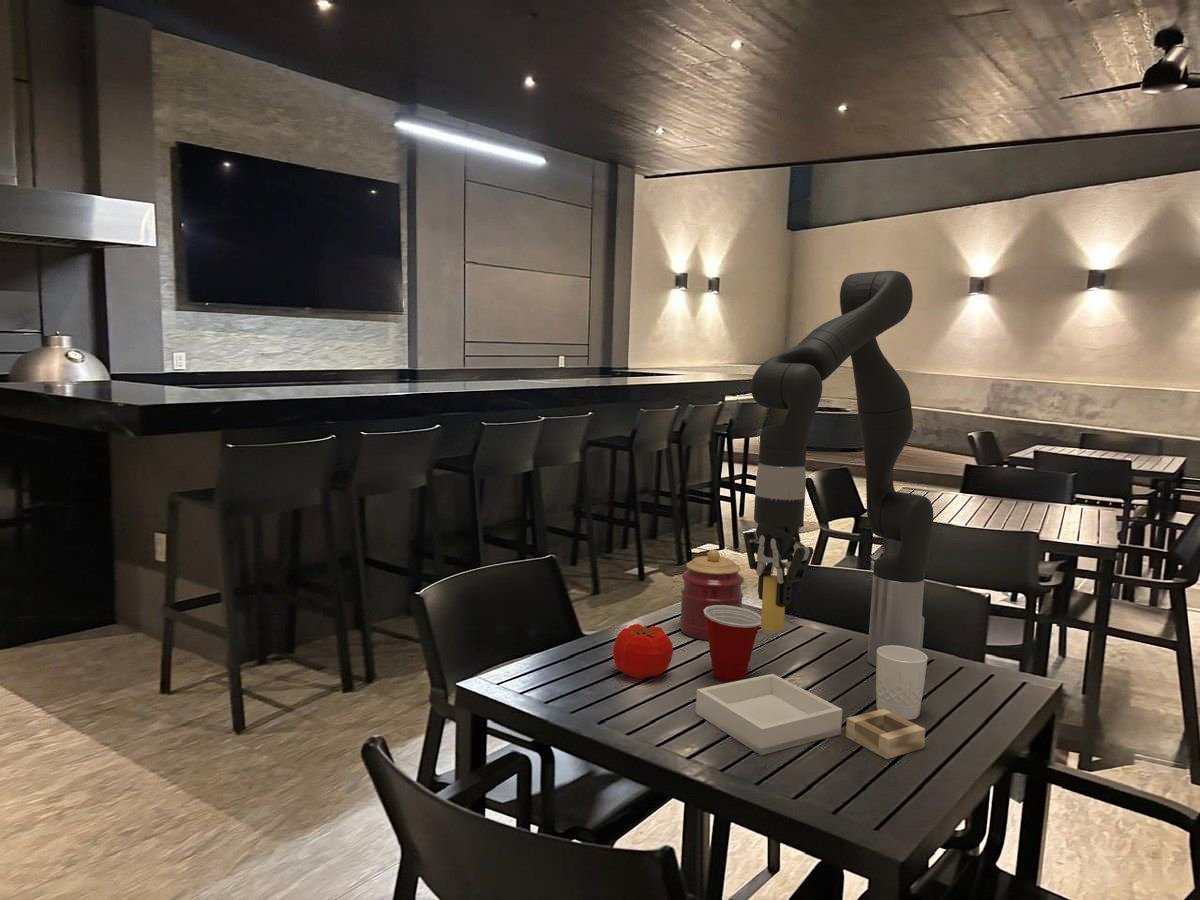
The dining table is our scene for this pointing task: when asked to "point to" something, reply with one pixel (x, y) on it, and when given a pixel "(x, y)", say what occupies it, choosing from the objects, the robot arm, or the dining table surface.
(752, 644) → the plastic cup
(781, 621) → the dowel
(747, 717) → the tray
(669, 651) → the tomato
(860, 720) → the socket block
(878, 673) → the white cup
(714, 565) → the canister
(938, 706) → the dining table surface
